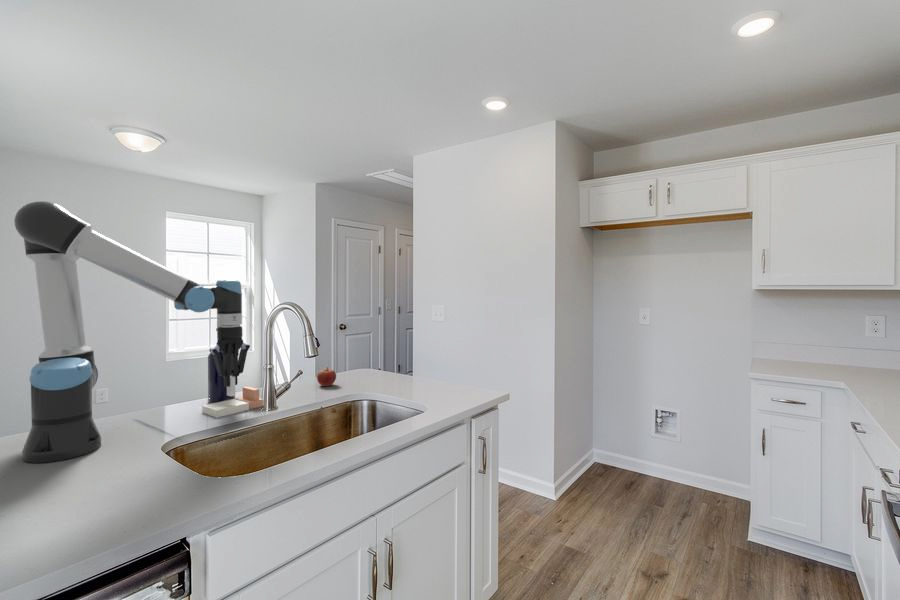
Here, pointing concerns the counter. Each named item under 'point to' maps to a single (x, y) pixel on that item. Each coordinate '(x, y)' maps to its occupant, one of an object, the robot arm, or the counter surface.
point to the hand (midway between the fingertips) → (231, 395)
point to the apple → (326, 377)
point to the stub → (251, 397)
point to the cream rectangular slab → (225, 407)
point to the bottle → (216, 381)
